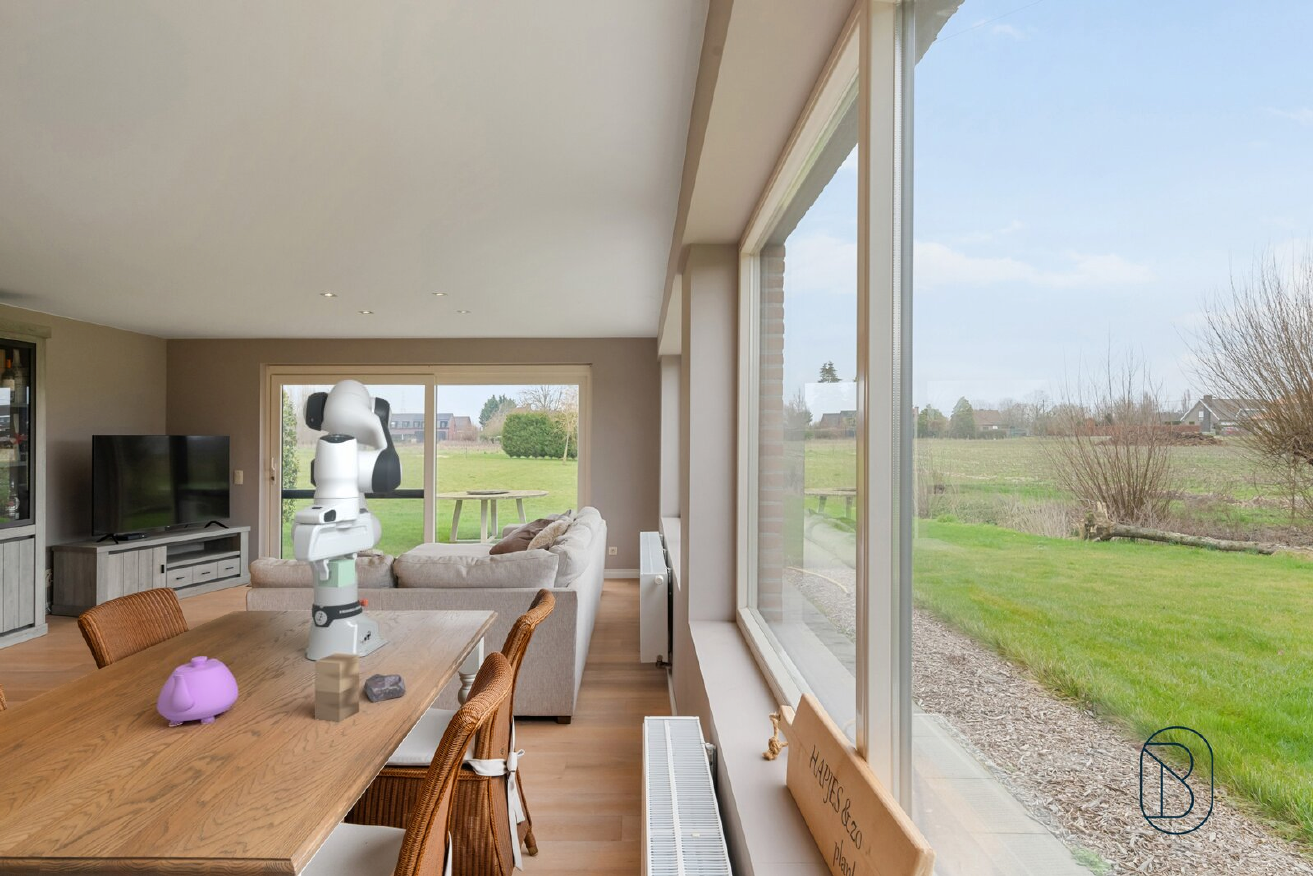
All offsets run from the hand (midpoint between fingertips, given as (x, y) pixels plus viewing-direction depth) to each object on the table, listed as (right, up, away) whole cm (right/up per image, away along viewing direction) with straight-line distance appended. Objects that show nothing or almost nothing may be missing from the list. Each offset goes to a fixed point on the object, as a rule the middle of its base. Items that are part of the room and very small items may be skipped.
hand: (336, 577), depth 146 cm
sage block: (0, -2, 0) cm, 2 cm away
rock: (+5, -30, +12) cm, 32 cm away
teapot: (-28, -29, -2) cm, 41 cm away
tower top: (0, -23, 0) cm, 23 cm away
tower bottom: (0, -29, -1) cm, 29 cm away
